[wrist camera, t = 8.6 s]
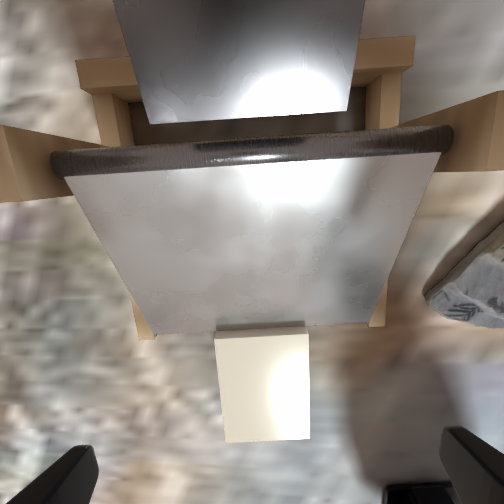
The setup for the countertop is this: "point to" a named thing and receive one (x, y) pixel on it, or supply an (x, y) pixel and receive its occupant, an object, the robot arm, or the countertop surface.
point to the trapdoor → (251, 171)
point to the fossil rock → (474, 285)
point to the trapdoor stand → (364, 74)
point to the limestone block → (264, 383)
